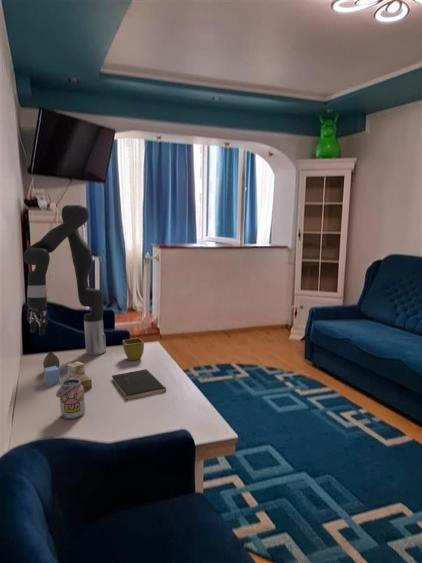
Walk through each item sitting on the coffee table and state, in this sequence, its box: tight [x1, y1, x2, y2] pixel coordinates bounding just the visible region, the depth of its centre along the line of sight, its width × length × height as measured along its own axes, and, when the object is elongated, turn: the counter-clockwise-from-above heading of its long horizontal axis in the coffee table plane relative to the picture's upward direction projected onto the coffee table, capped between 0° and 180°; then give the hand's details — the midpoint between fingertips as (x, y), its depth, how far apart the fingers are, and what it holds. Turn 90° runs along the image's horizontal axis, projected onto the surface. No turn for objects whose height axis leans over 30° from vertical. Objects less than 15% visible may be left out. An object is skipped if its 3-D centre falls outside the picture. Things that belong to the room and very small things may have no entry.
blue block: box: [43, 366, 61, 386], centre depth 177 cm, size 5×5×6 cm
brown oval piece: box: [42, 351, 61, 370], centre depth 190 cm, size 7×7×9 cm
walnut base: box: [68, 373, 93, 391], centre depth 171 cm, size 7×7×4 cm
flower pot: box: [122, 337, 145, 361], centre depth 204 cm, size 9×9×9 cm
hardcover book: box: [111, 368, 167, 400], centre depth 173 cm, size 16×23×2 cm
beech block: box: [67, 361, 86, 379], centre depth 182 cm, size 5×5×6 cm
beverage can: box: [55, 378, 86, 420], centre depth 147 cm, size 9×8×12 cm
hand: (37, 333), depth 177 cm, fingers open, 8 cm apart
